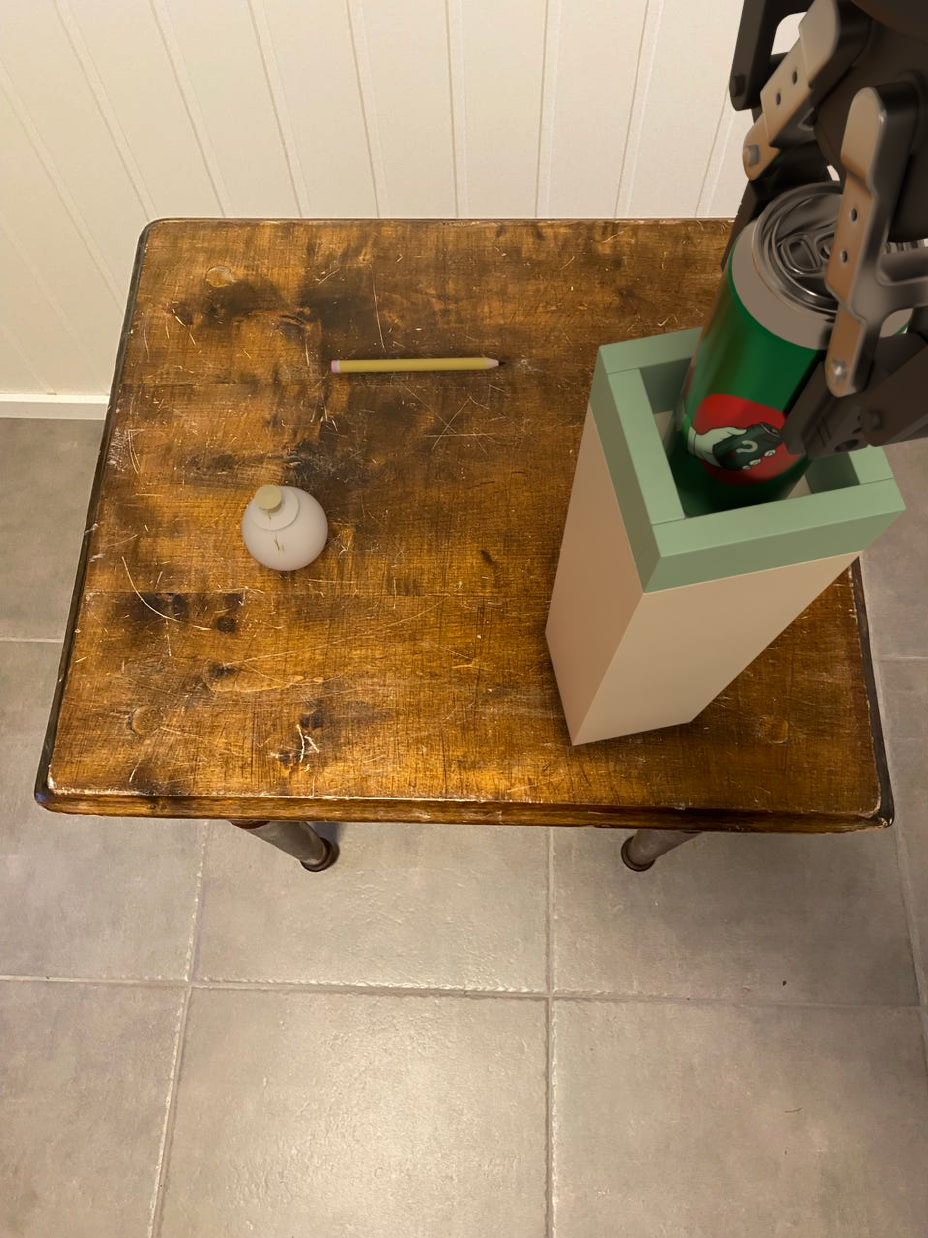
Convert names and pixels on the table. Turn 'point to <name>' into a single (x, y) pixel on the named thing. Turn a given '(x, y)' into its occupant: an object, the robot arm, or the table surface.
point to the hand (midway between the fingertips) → (784, 352)
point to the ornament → (284, 527)
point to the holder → (684, 555)
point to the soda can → (760, 356)
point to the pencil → (414, 364)
